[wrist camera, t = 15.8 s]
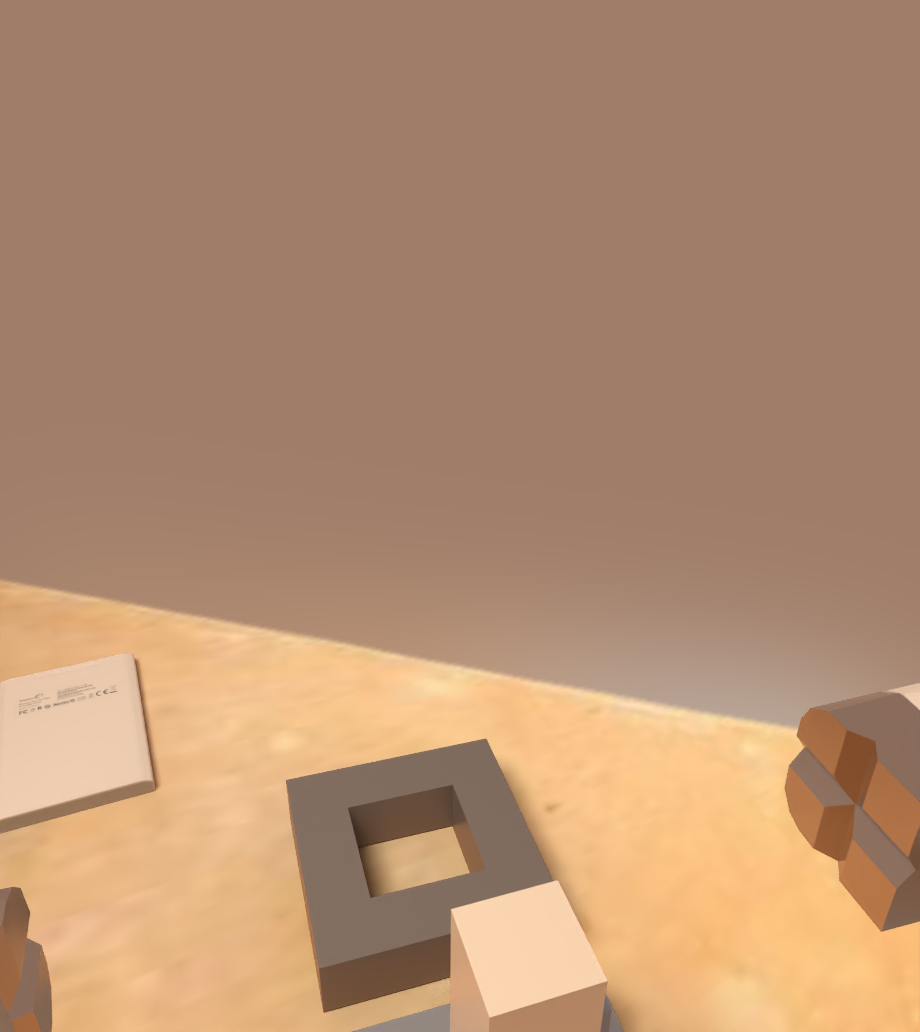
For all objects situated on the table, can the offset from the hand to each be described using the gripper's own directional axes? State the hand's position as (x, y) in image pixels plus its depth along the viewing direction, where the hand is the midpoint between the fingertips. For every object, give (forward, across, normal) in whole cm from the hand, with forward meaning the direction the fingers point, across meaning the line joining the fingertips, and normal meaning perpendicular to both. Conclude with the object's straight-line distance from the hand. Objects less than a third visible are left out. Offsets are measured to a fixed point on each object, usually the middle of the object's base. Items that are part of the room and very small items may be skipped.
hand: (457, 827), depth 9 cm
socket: (+23, +5, -30) cm, 38 cm away
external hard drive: (+39, -12, -31) cm, 51 cm away
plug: (+9, +5, -30) cm, 32 cm away
